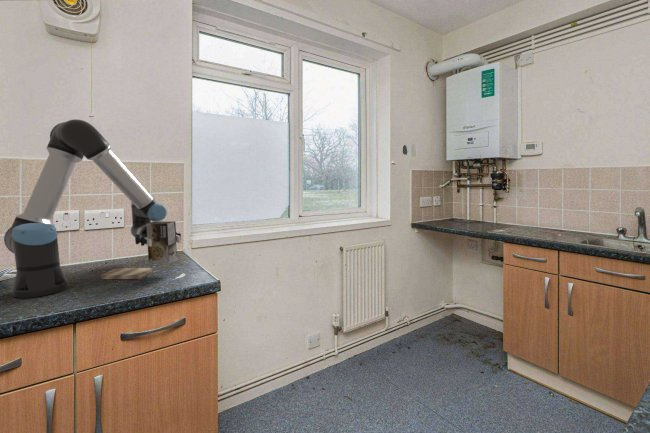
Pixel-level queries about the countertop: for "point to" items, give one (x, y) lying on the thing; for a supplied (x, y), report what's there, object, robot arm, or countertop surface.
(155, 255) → the coffee box
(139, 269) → the birch board
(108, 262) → the countertop surface
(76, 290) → the countertop surface
